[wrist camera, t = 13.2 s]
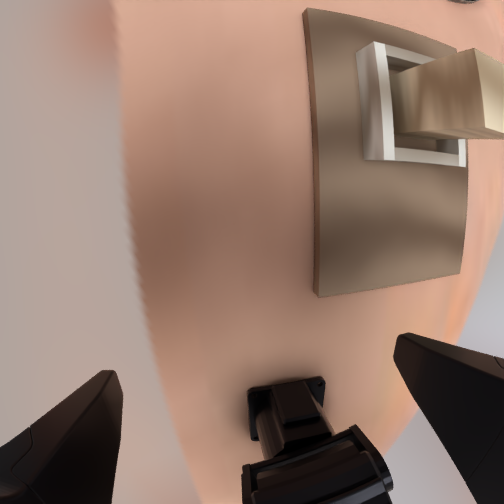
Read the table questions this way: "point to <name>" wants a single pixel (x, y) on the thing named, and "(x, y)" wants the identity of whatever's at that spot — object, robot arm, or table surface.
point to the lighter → (463, 1)
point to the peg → (450, 98)
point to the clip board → (377, 162)
